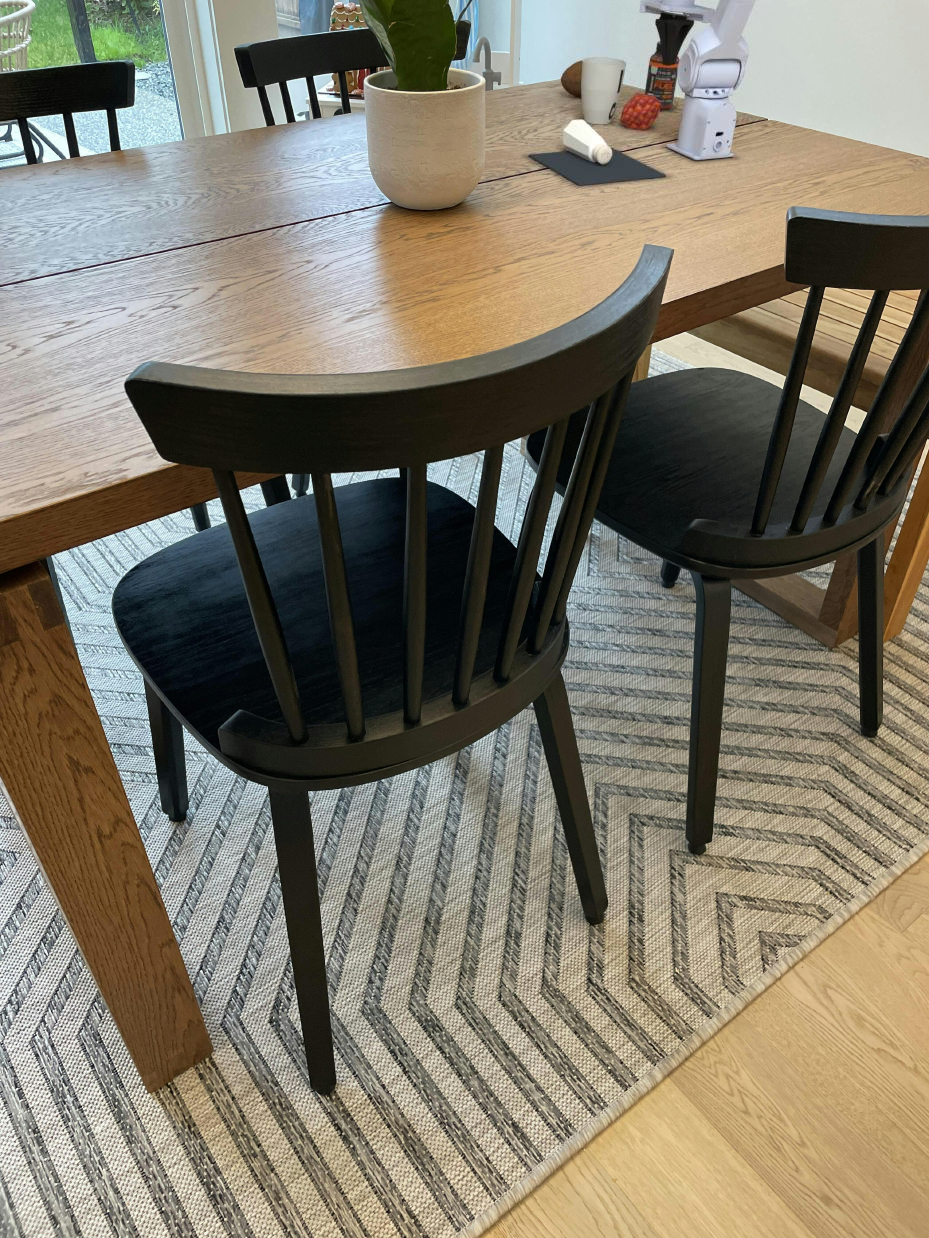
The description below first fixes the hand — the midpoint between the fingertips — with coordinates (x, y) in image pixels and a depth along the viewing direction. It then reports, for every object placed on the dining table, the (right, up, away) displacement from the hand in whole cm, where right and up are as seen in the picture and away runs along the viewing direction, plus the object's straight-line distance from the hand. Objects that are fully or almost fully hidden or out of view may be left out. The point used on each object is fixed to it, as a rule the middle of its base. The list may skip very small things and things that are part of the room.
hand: (668, 64), depth 167 cm
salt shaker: (-18, -17, -9) cm, 27 cm away
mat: (-15, -25, -14) cm, 33 cm away
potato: (-12, +9, +26) cm, 30 cm away
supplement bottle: (+2, +4, +21) cm, 21 cm away
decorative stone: (-4, -8, +7) cm, 11 cm away
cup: (-11, -5, +10) cm, 16 cm away
